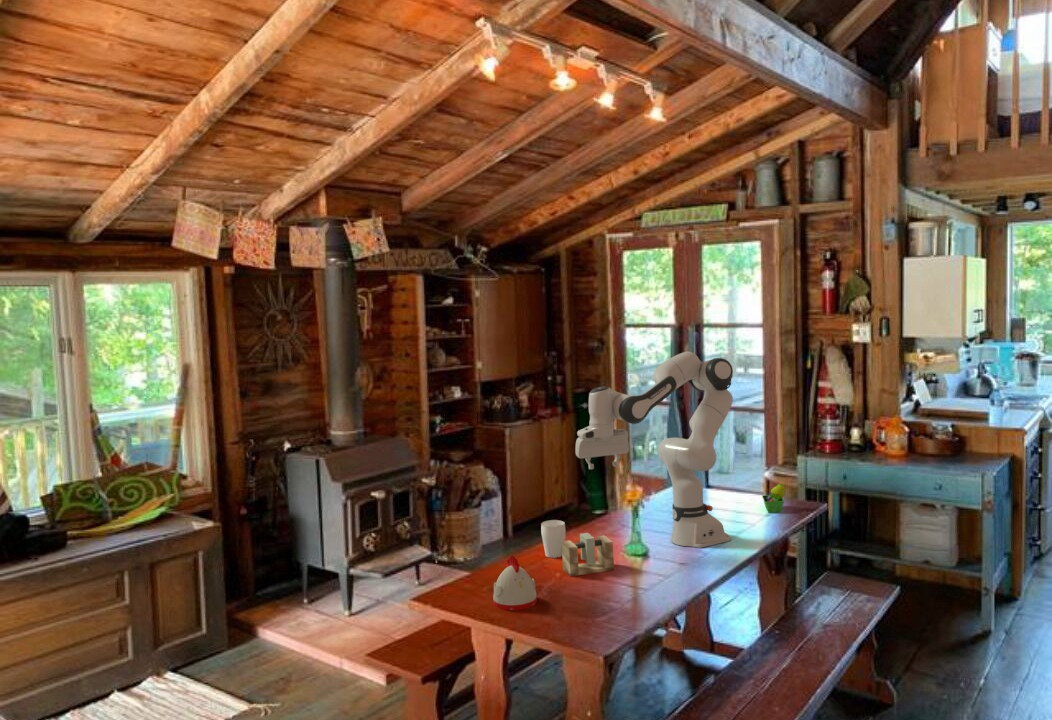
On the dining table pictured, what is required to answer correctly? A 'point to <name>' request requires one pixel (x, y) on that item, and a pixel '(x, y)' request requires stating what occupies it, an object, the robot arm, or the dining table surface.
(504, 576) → the kitchen timer
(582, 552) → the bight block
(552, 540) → the cup
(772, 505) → the fruit basket
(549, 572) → the dining table surface
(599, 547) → the wooden frame with rod
